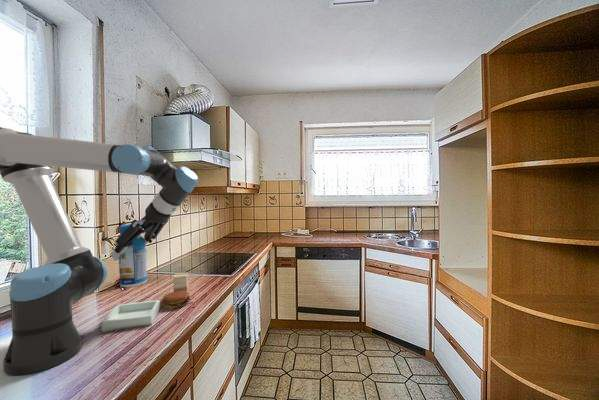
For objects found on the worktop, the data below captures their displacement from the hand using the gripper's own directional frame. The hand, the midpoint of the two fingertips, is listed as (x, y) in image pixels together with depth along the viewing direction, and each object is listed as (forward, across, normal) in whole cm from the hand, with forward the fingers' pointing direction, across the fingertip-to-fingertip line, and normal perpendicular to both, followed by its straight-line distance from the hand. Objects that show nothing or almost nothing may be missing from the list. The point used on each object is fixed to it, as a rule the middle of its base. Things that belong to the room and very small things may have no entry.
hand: (124, 254), depth 95 cm
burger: (+9, +14, -22) cm, 28 cm away
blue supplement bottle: (+4, 0, -9) cm, 10 cm away
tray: (+13, 0, -18) cm, 22 cm away
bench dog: (+12, +22, -19) cm, 31 cm away
